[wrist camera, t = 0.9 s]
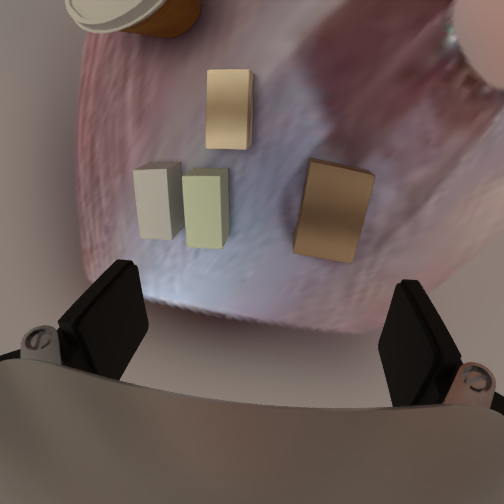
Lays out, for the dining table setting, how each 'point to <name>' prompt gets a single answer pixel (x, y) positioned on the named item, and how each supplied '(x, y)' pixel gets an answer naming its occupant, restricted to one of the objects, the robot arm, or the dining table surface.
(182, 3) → the disposable coffee cup
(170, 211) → the grey brick
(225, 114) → the beech brick
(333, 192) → the walnut base
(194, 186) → the sage brick
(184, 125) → the dining table surface
